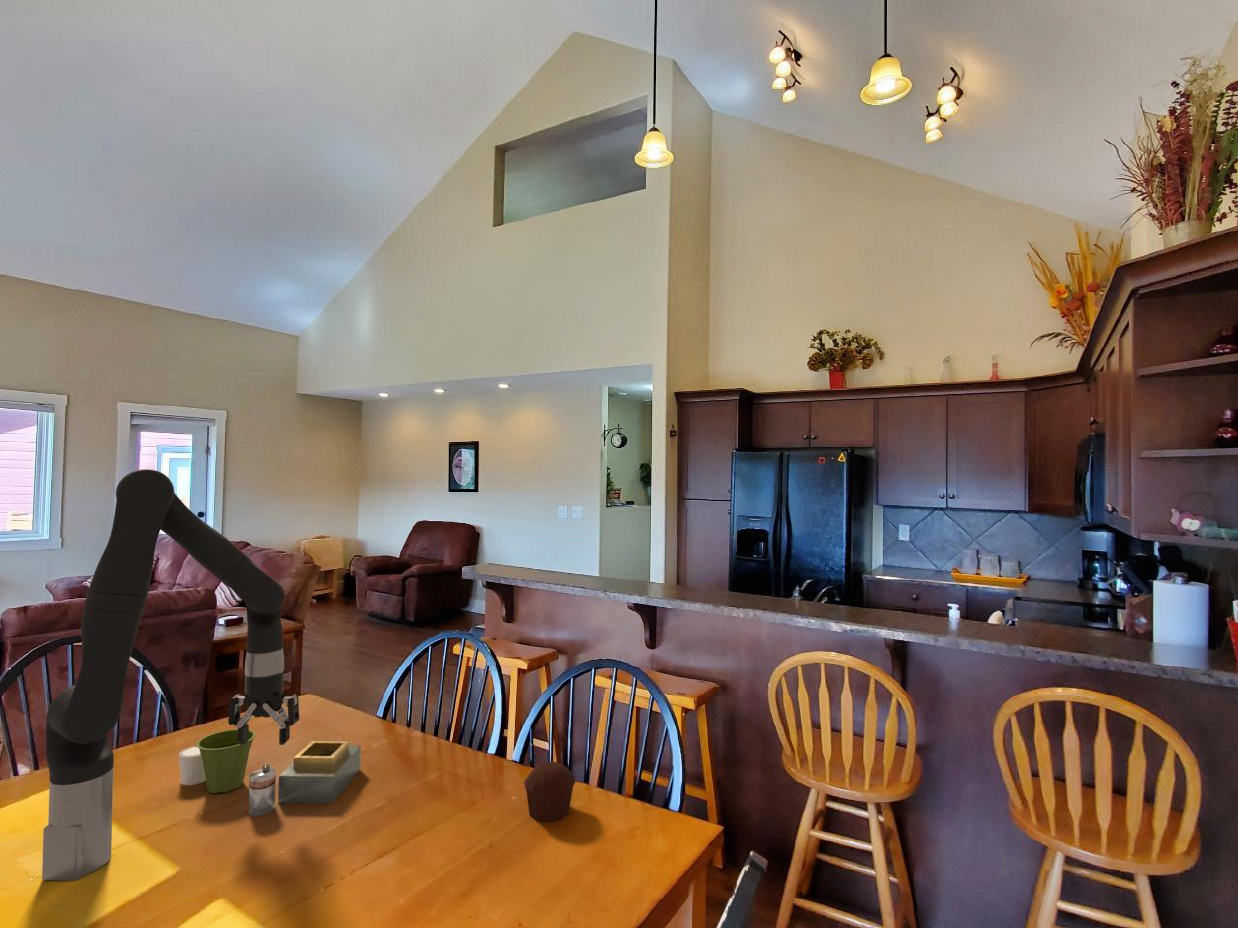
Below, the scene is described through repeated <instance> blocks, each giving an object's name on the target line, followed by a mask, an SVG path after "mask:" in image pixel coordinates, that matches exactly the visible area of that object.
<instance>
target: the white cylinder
mask: <svg viewBox="0 0 1238 928" xmlns="http://www.w3.org/2000/svg"><path fill="white" fill-rule="evenodd" d="M178 760H179V761H178V762H179V772H180V773H179V774H180V784H181V785H182V786H194V785H199V784H201V783H204V782H206V778H205V772H204V766H203V760H202V757H201V754H200V749H199V748H198V747H197V745H192V746H190V747H189V746H188V747H186V748H184V749H182V750H180V752H179V753H178Z"/></svg>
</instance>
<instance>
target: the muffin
mask: <svg viewBox="0 0 1238 928" xmlns="http://www.w3.org/2000/svg"><path fill="white" fill-rule="evenodd" d="M523 783H524V788H525V790H526V791H525V792H526V798H527V804H528V805H527V806H528V814H529V817H531V818H533V819H534V820H535V821H536V822H545V823H552V822H557V821H562V820H563V819H564V817H566V816H568V815H569V813H570V808H571V807H570V806H571V801H572V795H573V790H574V786H575V785H576V784H575V783H576V779H575V777H574V775H573V773H572V772H571V771H570V769H569V768H568V767H566V766H565V765H563V764H562V763H560V762H556V761H546V762H543V763H541V764H539V765H537V766H535V767H534V768H533V769H532V770H531V771H530V772H529V774H528V775H527V777H526V778H525V779H524V781H523Z"/></svg>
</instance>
